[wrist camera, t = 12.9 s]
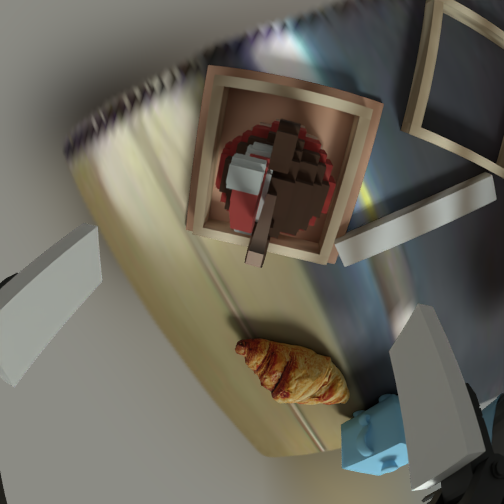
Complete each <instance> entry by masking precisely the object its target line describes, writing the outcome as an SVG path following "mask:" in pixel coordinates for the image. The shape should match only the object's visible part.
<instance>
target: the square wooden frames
mask: <svg viewBox="0 0 504 504" xmlns="http://www.w3.org/2000/svg"><path fill="white" fill-rule="evenodd" d="M443 13H445V14H447V15H449V16H451V17H452V18H454V19H456V20H458V21H460V22H462V23H463V24H465V25H467V26H468V27H470V28H472V29H473V30H475V31H477V32H478V33H480V34H482V35H483V36H485V37H486V38H488V39H489V40H491V41H492V42H494V43H495V44H497V45H498V46H500V47H501V48H502V49H504V31H502V30H501V29H499V28H498V27H496V26H495V25H494V24H492V23H491V22H489V21H488V20H486V19H485V18H483V17H481V16H480V15H478V14H477V13H475V12H473V11H472V10H470V9H468V8H467V7H465V6H463V5H461V4H460V3H458V2H456V1H454V0H426V4H425V12H424V20H423V27H422V33H421V39H420V45H419V51H418V56H417V62H416V67H415V72H414V77H413V81H412V86H411V91H410V95H409V99H408V103H407V108H406V112H405V116H404V120H403V123H402V127H401V131H403V132H406V133H408V134H411V135H414V136H416V137H419V138H421V139H423V140H426V141H428V142H431V143H433V144H435V145H438V146H440V147H442V148H444V149H447V150H449V151H451V152H453V153H455V154H457V155H460V156H462V157H464V158H466V159H468V160H470V161H472V162H474V163H476V164H478V165H480V166H482V167H484V168H485V169H487V170H489V171H491V172H493V173H495V174H496V175H498V176H500V177H502V178H504V137H503V141H502V145H501V148H500V152H499V156H498V159H497V162H496V164H495V163H493V162H491V161H490V160H488V159H486V158H484V157H482V156H480V155H479V154H477V153H475V152H473V151H471V150H469V149H467V148H465V147H463V146H461V145H459V144H457V143H455V142H453V141H451V140H448V139H446V138H444V137H442V136H440V135H437V134H435V133H433V132H431V131H428V130H426V129H424V128H421V125H422V121H423V117H424V113H425V109H426V105H427V101H428V97H429V92H430V88H431V83H432V78H433V73H434V68H435V62H436V57H437V51H438V45H439V38H440V31H441V24H442V15H443ZM383 105H384V104H383V103H380V102H377V101H374V100H371V99H368V98H365V97H362V96H359V95H356V94H352V93H349V92H346V91H342V90H339V89H335V88H331V87H328V86H324V85H320V84H316V83H312V82H308V81H303V80H299V79H294V78H290V77H285V76H280V75H275V74H269V73H264V72H258V71H251V70H245V69H238V68H230V67H222V66H213V65H208V70H207V75H206V81H205V87H204V92H203V98H202V105H201V111H200V117H199V124H198V131H197V138H196V145H195V152H194V160H193V168H192V176H191V185H190V194H189V203H188V213H187V224H186V230H190V231H193V234H194V235H198V236H202V237H207V238H211V239H215V240H220V241H224V242H228V243H233V244H237V245H241V246H246V247H248V246H249V241H250V237H251V236H250V235H246V234H243V233H239V232H235V231H234V229H232V228H230V223H229V222H230V220H229V219H230V217H229V215H230V214H229V211H226V209H224V208H225V203H224V202H220V199H221V194H222V192H219V189H217V188H216V185H215V183H216V178H217V172H218V167H219V162H220V157H221V153H222V151H223V149H224V148H225V144H226V143H228V142H229V141H232V140H233V139H234V138H236V137H237V136H242V134H243V133H244V132H245V131H247V130H251V128H252V127H254V126H255V125H257V124H259V125H260V122H263V123H267V124H272V122H274V121H276V119H285V120H289V121H292V122H296V123H300V124H301V125H303V126H305V129H306V131H307V133H306V134H309V135H313V136H316V137H317V140H319V141H320V143H321V145H322V146H323V147H322V149H323V150H325V152H326V154H327V159H330V161H331V163H332V165H333V168H332V171H331V175H332V176H333V178H334V180H335V182H336V186H335V189H334V192H333V195H332V198H331V201H330V204H329V207H328V210H327V213H326V214H324V213H321V215H320V218H318V217H317V218H316V221H315V224H314V226H311V225H308V227H307V230H306V231H305V230H304V231H301V230H299V231H298V232H297V234H296V236H292V235H289V234H285V233H281V232H280V234H279V236H278V239H276V238H272V237H270V242H269V245H268V249H267V252H271V253H276V254H280V255H284V256H289V257H293V258H297V259H302V260H306V261H310V262H314V263H319V264H323V265H326V264H327V262H328V263H332V264H335V262H336V259H337V256H338V253H339V255H340V258H341V260H342V262H343V264H344V266H345V267H346V266H349V265H351V264H354V263H356V262H359V261H361V260H364V259H366V258H368V257H371V256H373V255H376V254H378V253H380V252H383V251H385V250H387V249H390V248H392V247H395V246H397V245H399V244H401V243H404V242H406V241H408V240H411V239H413V238H415V237H418V236H420V235H422V234H424V233H427V232H429V231H431V230H433V229H435V228H438V227H440V226H442V225H444V224H446V223H449V222H451V221H453V220H455V219H457V218H459V217H462V216H464V215H466V214H468V213H470V212H472V211H474V210H476V209H478V208H480V207H483V206H485V205H487V204H489V203H491V202H493V201H495V200H497V199H496V193H495V187H494V181H493V176H492V175H491V174H489V173H487V172H484V173H481V174H479V175H477V176H475V177H473V178H470V179H468V180H466V181H464V182H462V183H459V184H457V185H455V186H453V187H450V188H448V189H446V190H444V191H441V192H439V193H437V194H435V195H432V196H430V197H428V198H426V199H423V200H421V201H419V202H417V203H414V204H412V205H410V206H407V207H405V208H403V209H400V210H398V211H396V212H394V213H391V214H389V215H387V216H384V217H382V218H380V219H377V220H375V221H373V222H370V223H368V224H366V225H363V226H361V227H359V228H356V229H354V230H352V231H349V232H347V233H346V231H347V228H348V225H349V222H350V219H351V216H352V213H353V210H354V207H355V204H356V201H357V197H358V194H359V191H360V188H361V185H362V181H363V178H364V175H365V171H366V168H367V165H368V161H369V158H370V154H371V151H372V147H373V143H374V140H375V136H376V132H377V128H378V125H379V121H380V117H381V113H382V109H383Z"/></svg>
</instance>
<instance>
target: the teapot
mask: <svg viewBox="0 0 504 504" xmlns="http://www.w3.org/2000/svg"><path fill="white" fill-rule="evenodd" d="M353 416H354V418H352V419H350V420H349V421H347V422H345V423H343V424H341V438H342V468H343V469H347V470H352V471H356V472H361V473H367V474H373V475H382V474H384V473H388V472H392V471H395V470H396V469H397V468H399V467H401V466H403V465H405V464H408V463H409V462H408V453H407V446H406V439H405V432H404V425H403V419H402V413H401V407H400V402H399V397H398V396H397V395H395V394H392V395H391V394H385V395H382V396H381V397H379V403H378V404H376V405H374V406H373V407H371V408H369V409H368V410H366V411H363V410H360V411H356V412H354V413H353Z"/></svg>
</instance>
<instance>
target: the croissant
mask: <svg viewBox="0 0 504 504" xmlns="http://www.w3.org/2000/svg"><path fill="white" fill-rule="evenodd" d="M235 351H236V353H238V354H240V355H242V356H244V357H245V363H246V364H247V365H248V368H251V369H252V370H253V371H254V373H255V374H256V375H258V377H259V379H260V381H261V386H263V387H264V388H266V389H268V390H270V391H271V394H272V397H273V399H274V400H275V401H277V402H279V403H299V404H311V405H313V404H319V403H323V404H327V405H331V404H337V403H346V402H347V401H348V399H349V390H348V388H347V385H346V381H345V379H344V376H343V375H342V374H341V372H340V370H339V369H338V368H337V367H336V366H335V365H334V364H333V363H332V362H331V358H330V357H328V356H322V355H318V354H317V353H315V352H314V351H312V350H311V349H308V348H305V347H302V346H298V345H289V344H285V343H278V342H274V341H269V340H266V339H246V340H240V341H239V342H237V345H236V348H235Z"/></svg>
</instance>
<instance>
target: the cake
mask: <svg viewBox="0 0 504 504" xmlns="http://www.w3.org/2000/svg"><path fill="white" fill-rule="evenodd" d="M306 133H307V131H306V129H305V126H303V125H301V124H300V123H296V122H292V121H289V120H285V119H276V121H274V122H272V124H267V123H263V122H260V125H259V124H257V125H255V126H254V127H252V128H251V130H247V131H245V132H244V133H243V134H242V136H237V137H236V138H234V139H233V140H232V141H229V142H228V143H226V144H225V148H224V149H223V151H222V153H221V157H220V162H219V167H218V172H217V178H216V183H215V185H216V188H217V189H219V192H222V194H221V199H220V202H224V203H225V208H224V209H226V211H229V214H230V215H229V217H230V219H229V220H230V222H229V223H230V228H232V229H234V231H235V232H239V233H243V234H246V235H250V236H251V237H250V241H249V246H248V250H247V254H246V258H245V264H249V265H252V266H256V267H261V268H262V265H263V263H264V260H265V256H266V252H267V249H268V245H269V242H270V237H272V238H276V239H278V236H279V234H280V232H281V233H285V234H289V235H292V236H296V234H297V232H298V231H299V230H301V231H304V230H305V231H306V230H307V227H308V225H311V226H314V224H315V221H316V218H317V217H318V218H320V215H321V213H324V214H326V213H327V210H328V207H329V204H330V201H331V198H332V195H333V192H334V189H335V186H336V182H335V180H334V178H333V176H332V175H331V171H332V168H333V165H332V163H331V161H330V159H327V154H326V152H325V150H323V149H322V147H323V146H322V145H321V143H320V141H319V140H317V137H316V136H313V135H309V134H306Z"/></svg>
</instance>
